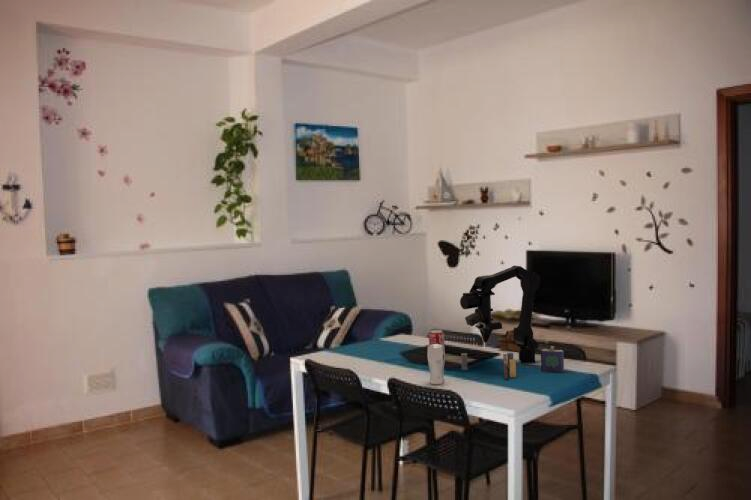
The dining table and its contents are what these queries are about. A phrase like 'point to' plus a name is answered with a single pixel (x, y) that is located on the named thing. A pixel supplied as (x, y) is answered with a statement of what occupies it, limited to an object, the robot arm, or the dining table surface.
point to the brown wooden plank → (505, 366)
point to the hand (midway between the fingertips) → (485, 342)
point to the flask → (552, 360)
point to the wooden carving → (508, 342)
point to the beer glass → (436, 363)
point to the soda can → (436, 337)
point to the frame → (510, 362)
